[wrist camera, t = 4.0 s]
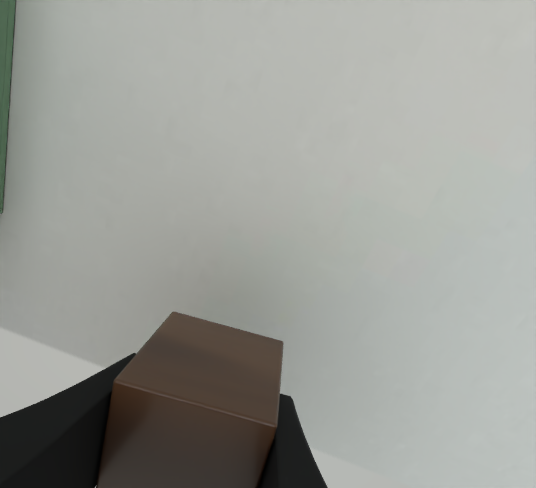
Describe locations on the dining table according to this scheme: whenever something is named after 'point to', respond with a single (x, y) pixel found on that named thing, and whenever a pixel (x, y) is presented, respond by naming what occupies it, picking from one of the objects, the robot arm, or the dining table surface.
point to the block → (193, 409)
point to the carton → (5, 80)
